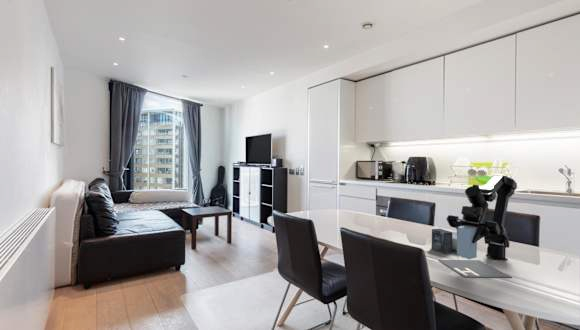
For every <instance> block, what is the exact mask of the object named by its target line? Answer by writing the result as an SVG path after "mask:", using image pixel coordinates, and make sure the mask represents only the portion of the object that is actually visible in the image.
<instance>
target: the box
mask: <svg viewBox="0 0 580 330" xmlns="http://www.w3.org/2000/svg"><path fill="white" fill-rule="evenodd" d="M452 232H453V231H449V230H445V229H442V228H433V229H431V250H434V251H436V252H439V253H441V254H444V255H445V254H451V253H452V252H453V249H452Z"/></svg>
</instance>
